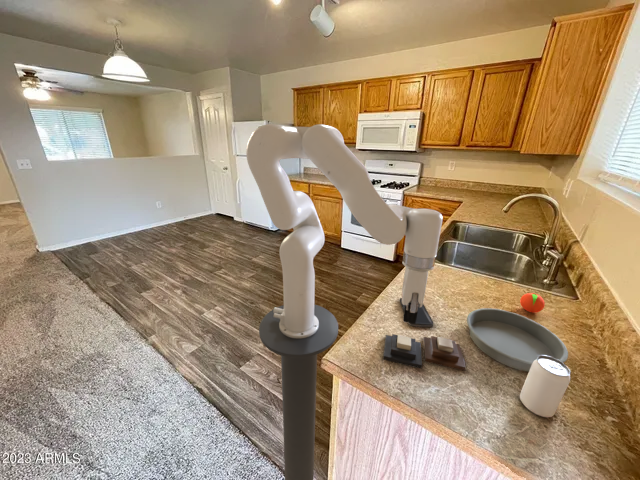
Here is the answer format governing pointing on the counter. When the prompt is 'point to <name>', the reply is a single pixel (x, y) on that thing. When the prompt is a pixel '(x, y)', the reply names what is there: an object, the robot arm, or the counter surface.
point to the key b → (444, 344)
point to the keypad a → (402, 352)
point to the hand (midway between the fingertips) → (409, 320)
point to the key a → (404, 342)
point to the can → (545, 386)
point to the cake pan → (513, 338)
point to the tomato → (532, 302)
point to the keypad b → (443, 354)
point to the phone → (421, 317)
